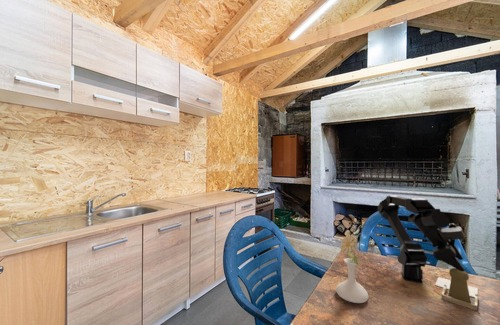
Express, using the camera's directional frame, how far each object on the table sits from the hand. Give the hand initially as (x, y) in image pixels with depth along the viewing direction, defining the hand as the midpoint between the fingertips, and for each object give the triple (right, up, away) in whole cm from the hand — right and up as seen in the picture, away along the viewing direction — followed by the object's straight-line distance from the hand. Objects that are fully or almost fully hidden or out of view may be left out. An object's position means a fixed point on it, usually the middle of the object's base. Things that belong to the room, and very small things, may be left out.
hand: (462, 264), depth 80 cm
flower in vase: (-41, -13, +1) cm, 43 cm away
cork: (-2, -13, -1) cm, 13 cm away
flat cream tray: (-2, -13, -1) cm, 13 cm away
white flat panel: (+4, -13, +7) cm, 15 cm away
